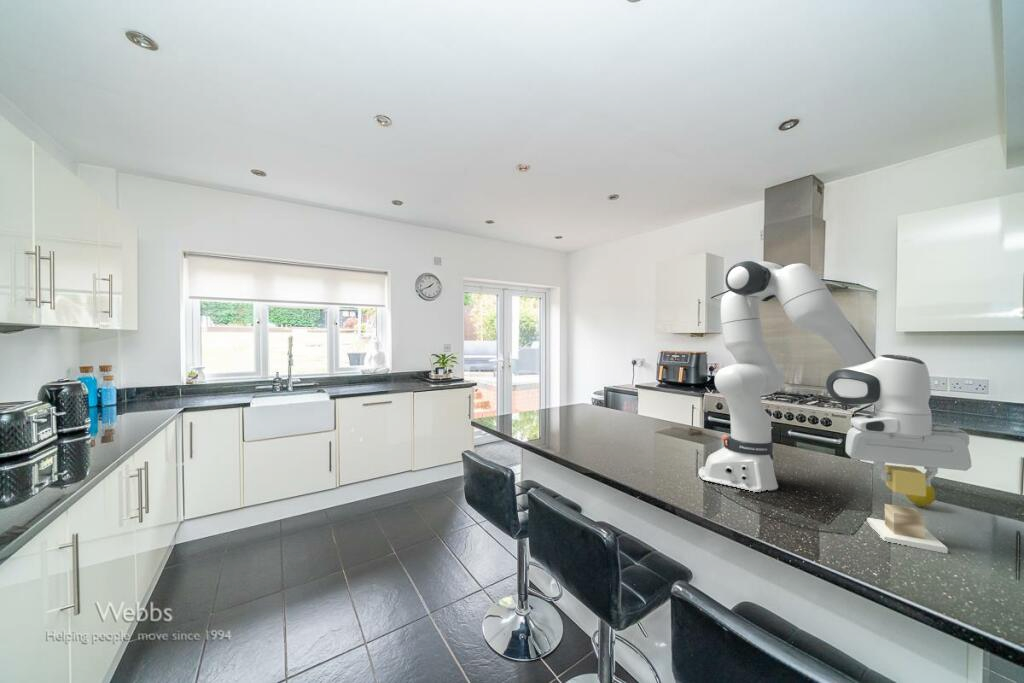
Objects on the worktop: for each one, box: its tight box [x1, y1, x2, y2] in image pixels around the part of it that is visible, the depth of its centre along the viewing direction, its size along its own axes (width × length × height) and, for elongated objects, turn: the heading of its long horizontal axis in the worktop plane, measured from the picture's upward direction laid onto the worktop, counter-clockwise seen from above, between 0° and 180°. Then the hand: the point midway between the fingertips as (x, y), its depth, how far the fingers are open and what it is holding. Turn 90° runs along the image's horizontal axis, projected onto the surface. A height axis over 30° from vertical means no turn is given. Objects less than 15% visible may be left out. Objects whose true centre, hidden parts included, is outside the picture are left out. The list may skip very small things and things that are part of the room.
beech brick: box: [884, 503, 926, 539], centre depth 85 cm, size 5×5×5 cm
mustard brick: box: [884, 464, 926, 497], centre depth 84 cm, size 5×5×5 cm
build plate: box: [866, 517, 949, 554], centre depth 85 cm, size 10×10×1 cm
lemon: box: [905, 485, 936, 508], centre depth 99 cm, size 6×6×8 cm
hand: (904, 482), depth 84 cm, fingers closed on mustard brick, 5 cm apart
